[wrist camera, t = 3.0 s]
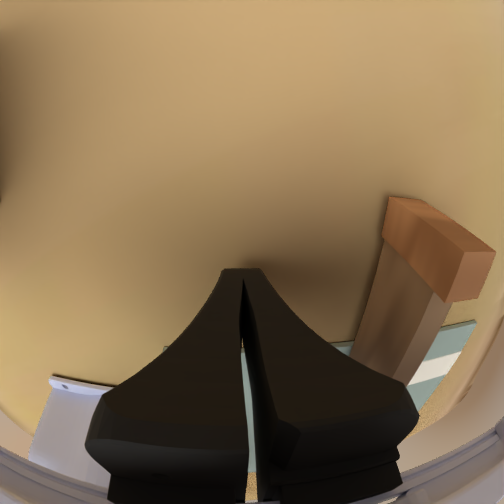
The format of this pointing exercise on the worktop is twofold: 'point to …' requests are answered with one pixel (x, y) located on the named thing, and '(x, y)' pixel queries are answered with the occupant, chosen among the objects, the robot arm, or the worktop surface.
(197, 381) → the robot arm
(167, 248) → the worktop surface
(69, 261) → the worktop surface
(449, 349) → the card
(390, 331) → the hinged fence panel
